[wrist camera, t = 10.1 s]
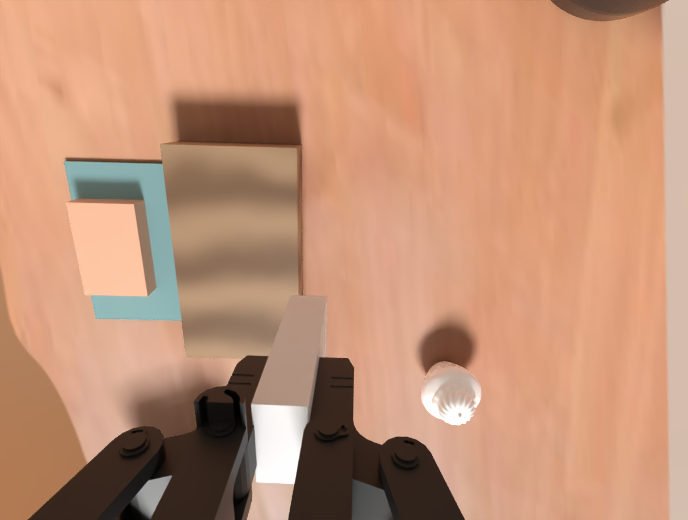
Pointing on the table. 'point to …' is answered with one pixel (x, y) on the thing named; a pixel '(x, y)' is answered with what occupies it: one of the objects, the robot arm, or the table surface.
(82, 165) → the mat
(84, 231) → the block
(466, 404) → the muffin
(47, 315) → the table surface
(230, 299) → the brown wooden slab
